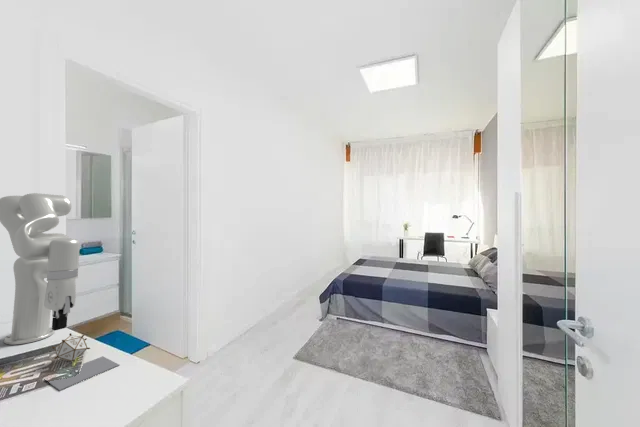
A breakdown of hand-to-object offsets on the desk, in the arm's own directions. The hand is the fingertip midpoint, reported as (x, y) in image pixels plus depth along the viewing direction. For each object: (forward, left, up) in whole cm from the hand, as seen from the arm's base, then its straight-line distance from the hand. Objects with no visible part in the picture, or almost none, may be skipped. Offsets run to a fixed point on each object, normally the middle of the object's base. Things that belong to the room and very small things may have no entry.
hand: (59, 328), depth 87 cm
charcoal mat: (+21, -1, -8) cm, 22 cm away
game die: (+10, 0, -8) cm, 13 cm away
